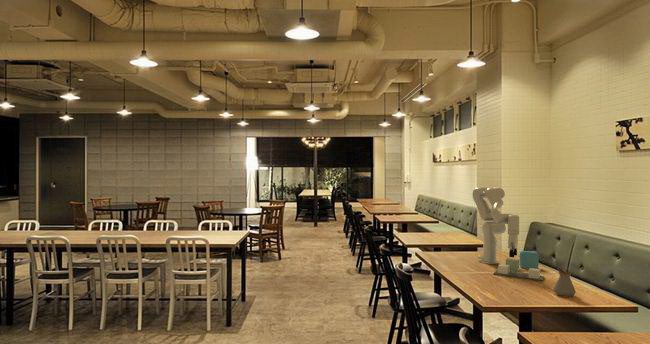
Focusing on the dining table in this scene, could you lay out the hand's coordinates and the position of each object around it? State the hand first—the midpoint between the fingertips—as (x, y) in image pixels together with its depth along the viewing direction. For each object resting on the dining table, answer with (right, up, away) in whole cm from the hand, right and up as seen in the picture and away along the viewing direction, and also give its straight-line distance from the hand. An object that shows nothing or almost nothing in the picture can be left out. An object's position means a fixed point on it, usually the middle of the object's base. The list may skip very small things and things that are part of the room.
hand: (513, 256), depth 309 cm
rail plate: (-3, -11, -16) cm, 19 cm away
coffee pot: (+6, -12, -52) cm, 54 cm away
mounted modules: (-3, -10, -16) cm, 19 cm away
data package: (+16, -11, +11) cm, 23 cm away
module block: (0, -11, +1) cm, 11 cm away
